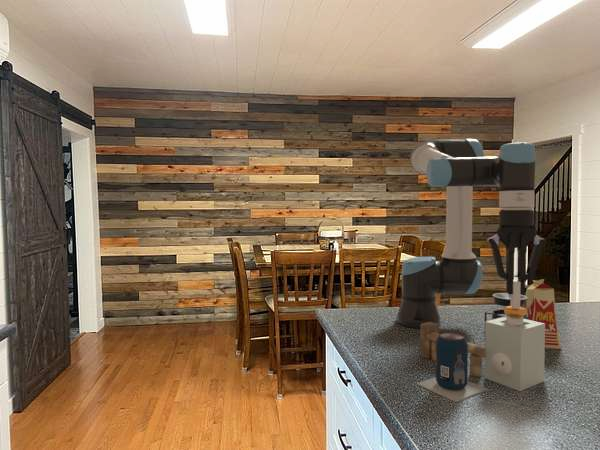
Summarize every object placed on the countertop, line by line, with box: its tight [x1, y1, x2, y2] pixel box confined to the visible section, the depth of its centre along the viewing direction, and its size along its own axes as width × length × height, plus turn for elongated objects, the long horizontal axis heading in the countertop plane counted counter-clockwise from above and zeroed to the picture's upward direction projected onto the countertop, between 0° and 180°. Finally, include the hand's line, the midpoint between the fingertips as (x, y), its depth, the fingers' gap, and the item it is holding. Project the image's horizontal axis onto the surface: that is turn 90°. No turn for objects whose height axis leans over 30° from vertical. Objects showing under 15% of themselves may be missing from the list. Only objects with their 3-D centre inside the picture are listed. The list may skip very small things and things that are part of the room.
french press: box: [483, 273, 528, 342], centre depth 120 cm, size 12×9×23 cm
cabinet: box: [484, 315, 546, 392], centre depth 104 cm, size 9×12×14 cm
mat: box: [416, 376, 488, 403], centre depth 101 cm, size 11×11×1 cm
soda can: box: [435, 331, 469, 391], centre depth 100 cm, size 7×7×12 cm
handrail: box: [419, 322, 485, 378], centre depth 114 cm, size 20×4×9 cm, turn 32°
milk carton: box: [523, 278, 563, 350], centre depth 131 cm, size 9×9×20 cm
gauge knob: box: [503, 306, 526, 327], centre depth 104 cm, size 5×5×7 cm
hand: (515, 307), depth 104 cm, fingers closed
